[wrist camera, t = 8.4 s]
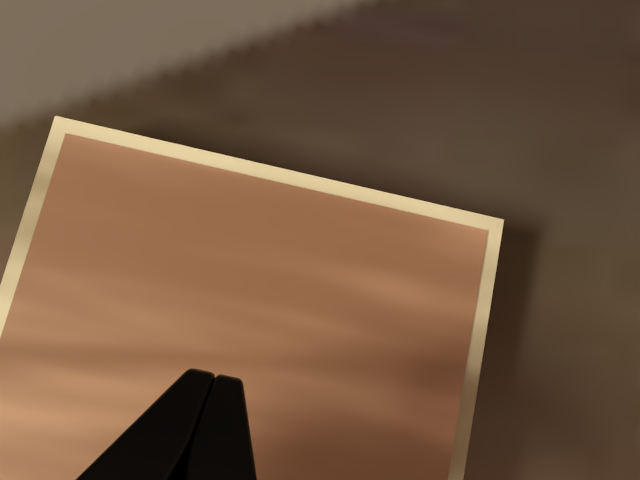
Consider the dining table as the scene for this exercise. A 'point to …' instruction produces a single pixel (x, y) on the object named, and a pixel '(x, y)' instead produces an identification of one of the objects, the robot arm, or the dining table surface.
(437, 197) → the dining table surface
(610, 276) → the dining table surface
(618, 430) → the dining table surface
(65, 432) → the brown tile
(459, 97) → the dining table surface
